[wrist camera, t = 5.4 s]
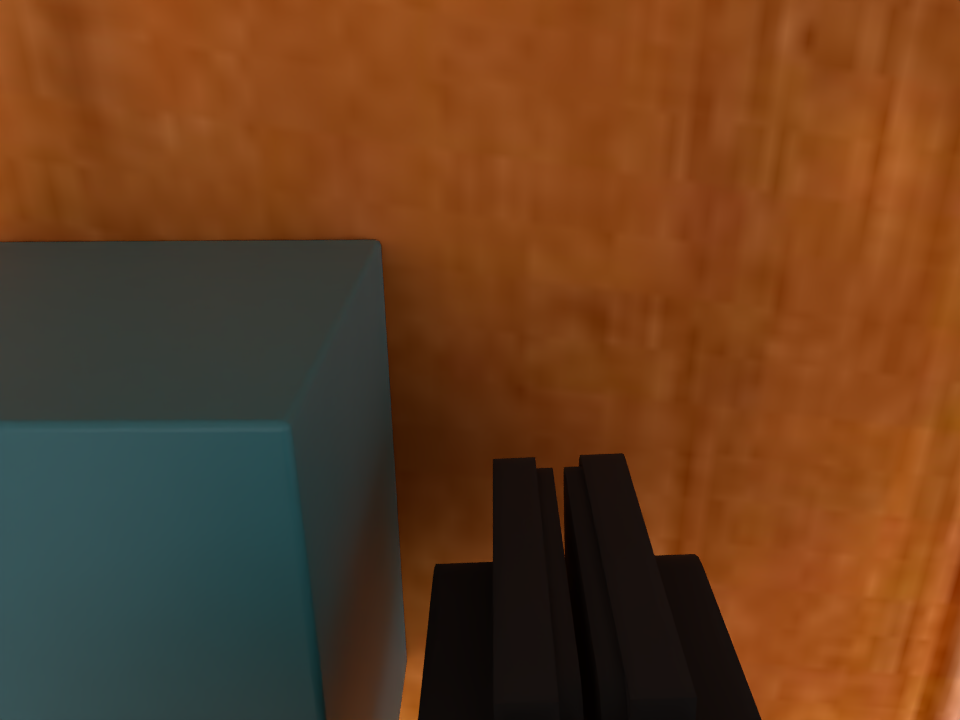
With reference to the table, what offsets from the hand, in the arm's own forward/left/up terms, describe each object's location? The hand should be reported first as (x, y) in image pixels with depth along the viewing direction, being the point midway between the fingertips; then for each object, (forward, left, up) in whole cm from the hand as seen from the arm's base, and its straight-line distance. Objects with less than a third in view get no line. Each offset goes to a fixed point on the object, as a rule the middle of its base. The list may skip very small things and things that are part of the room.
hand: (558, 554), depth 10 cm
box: (+3, -4, -2) cm, 5 cm away
